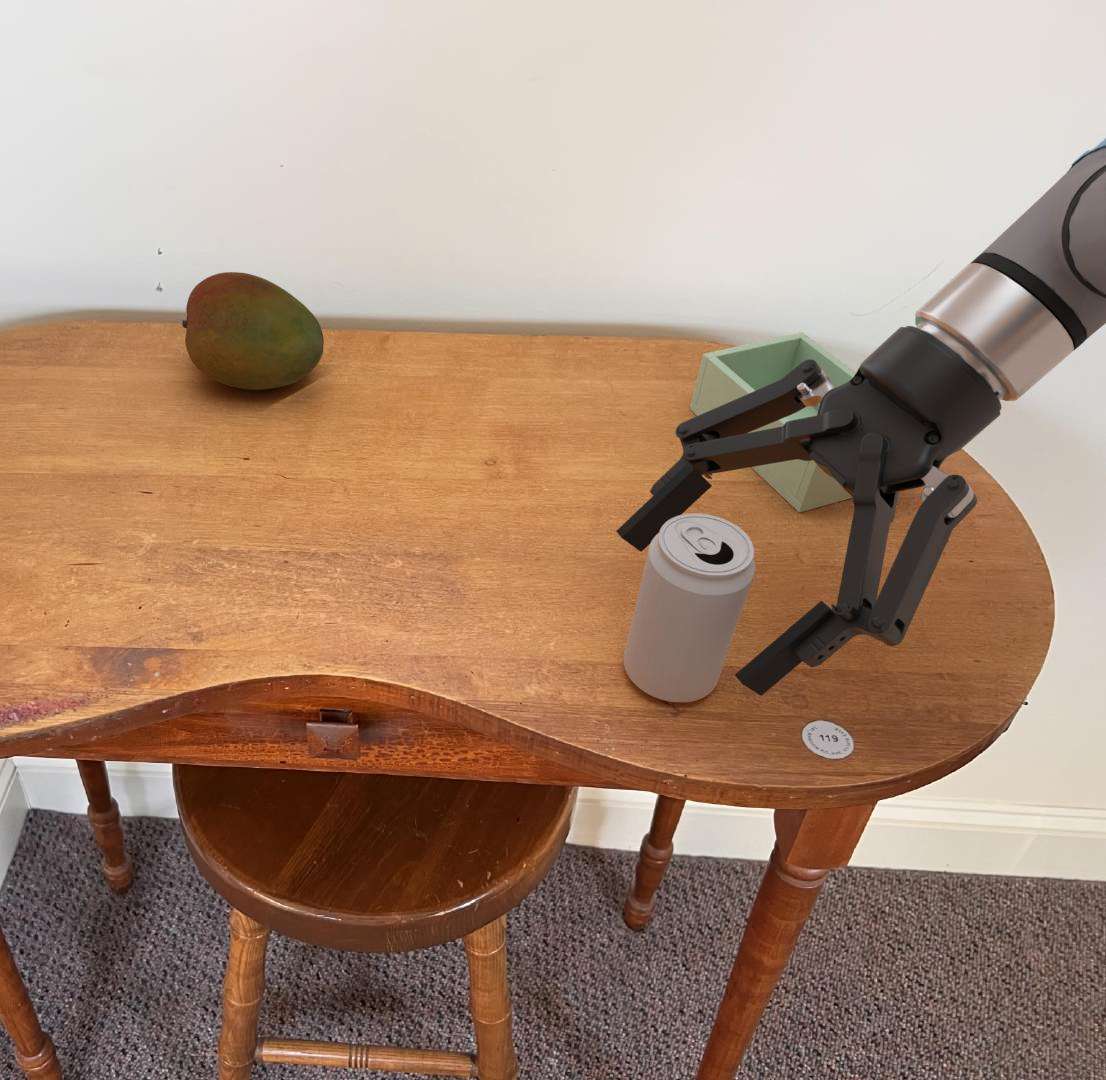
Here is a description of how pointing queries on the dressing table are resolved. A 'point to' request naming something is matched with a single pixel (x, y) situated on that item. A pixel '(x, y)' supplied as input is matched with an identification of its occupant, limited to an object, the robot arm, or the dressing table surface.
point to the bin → (753, 370)
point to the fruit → (250, 332)
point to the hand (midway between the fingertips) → (683, 609)
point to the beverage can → (688, 606)
